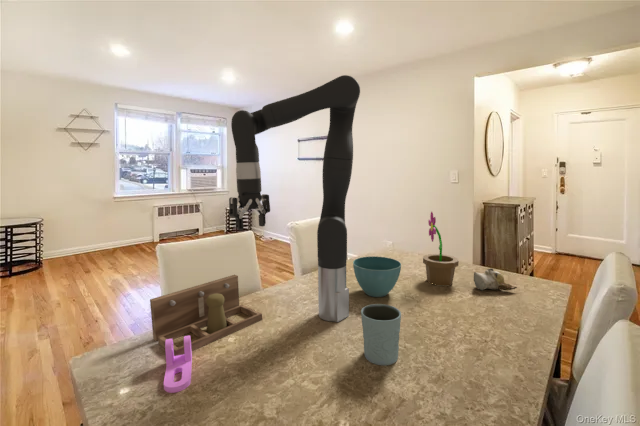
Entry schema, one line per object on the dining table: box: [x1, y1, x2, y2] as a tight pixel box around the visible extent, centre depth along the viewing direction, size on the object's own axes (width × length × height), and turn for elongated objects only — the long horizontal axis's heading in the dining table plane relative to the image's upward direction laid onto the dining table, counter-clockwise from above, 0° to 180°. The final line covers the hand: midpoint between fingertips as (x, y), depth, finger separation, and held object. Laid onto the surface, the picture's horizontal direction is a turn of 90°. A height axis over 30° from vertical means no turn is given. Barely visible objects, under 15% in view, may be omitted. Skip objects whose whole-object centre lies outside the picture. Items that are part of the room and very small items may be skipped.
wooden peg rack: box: [149, 274, 263, 356], centre depth 98 cm, size 14×28×12 cm, turn 139°
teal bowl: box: [352, 255, 402, 298], centre depth 125 cm, size 18×18×12 cm
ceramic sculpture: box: [473, 268, 518, 291], centre depth 128 cm, size 11×9×15 cm
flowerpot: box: [422, 211, 460, 286], centre depth 135 cm, size 14×14×30 cm
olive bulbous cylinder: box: [206, 294, 227, 334], centre depth 97 cm, size 6×6×11 cm
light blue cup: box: [360, 303, 402, 366], centre depth 83 cm, size 10×10×12 cm
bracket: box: [163, 335, 193, 394], centre depth 76 cm, size 13×6×7 cm, turn 20°
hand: (251, 228), depth 103 cm, fingers open, 8 cm apart
